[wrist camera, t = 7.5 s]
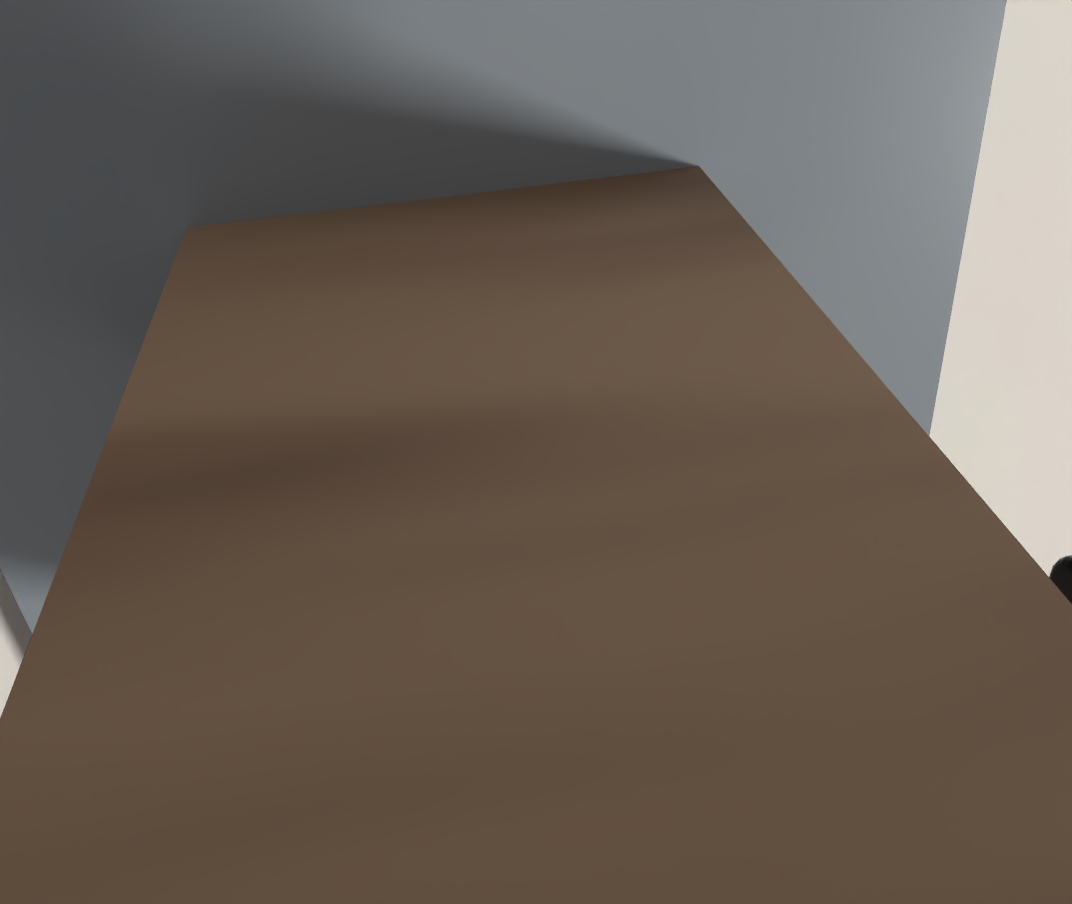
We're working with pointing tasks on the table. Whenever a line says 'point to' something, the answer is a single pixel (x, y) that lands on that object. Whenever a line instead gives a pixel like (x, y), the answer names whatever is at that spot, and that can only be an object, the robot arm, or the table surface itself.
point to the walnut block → (529, 588)
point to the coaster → (453, 164)
